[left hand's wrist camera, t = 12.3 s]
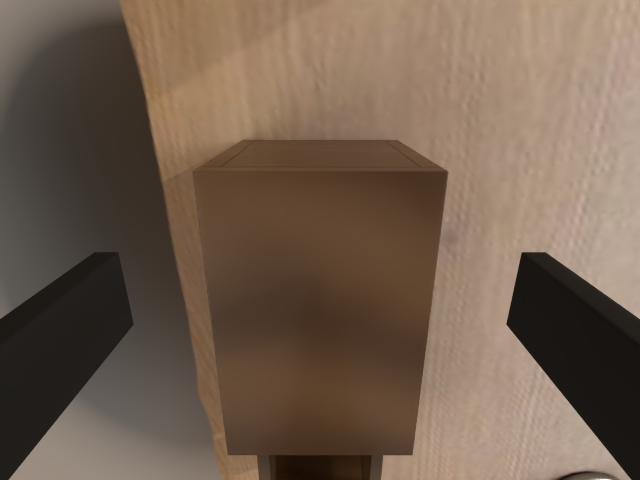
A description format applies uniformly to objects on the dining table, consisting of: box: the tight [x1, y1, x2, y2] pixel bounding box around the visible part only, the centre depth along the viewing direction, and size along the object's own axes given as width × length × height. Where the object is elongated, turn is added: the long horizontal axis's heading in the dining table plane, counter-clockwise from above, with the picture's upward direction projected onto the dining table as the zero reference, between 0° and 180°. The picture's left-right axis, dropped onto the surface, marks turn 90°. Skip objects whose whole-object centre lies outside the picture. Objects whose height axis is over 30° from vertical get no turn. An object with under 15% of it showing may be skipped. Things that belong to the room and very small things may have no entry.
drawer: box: [257, 455, 383, 480], centre depth 30 cm, size 22×10×10 cm, turn 0°
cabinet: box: [193, 140, 448, 455], centre depth 25 cm, size 17×11×12 cm, turn 0°
